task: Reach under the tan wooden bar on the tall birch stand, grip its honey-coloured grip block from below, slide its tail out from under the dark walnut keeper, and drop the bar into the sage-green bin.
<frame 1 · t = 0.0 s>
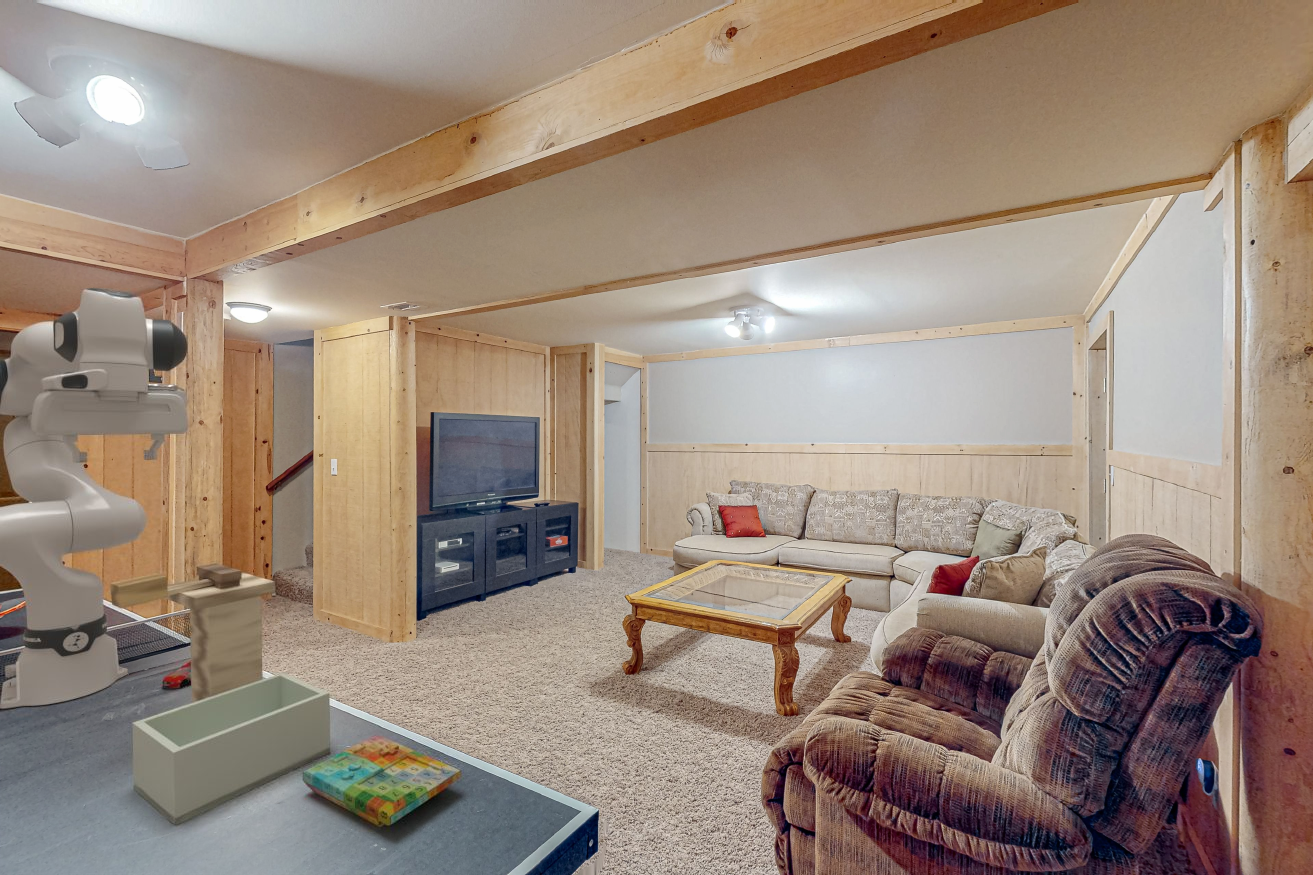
hand: (116, 461, 103), 48 cm above the table, tool pointing down, fingers open, 8 cm apart
race car: (198, 679, 127), on the table
tan wooden bar: (140, 600, 96), point 26 cm above the table, touching stand
stand: (221, 727, 106), on the table
bin: (237, 769, 93), on the table
puzzle game: (382, 797, 87), on the table
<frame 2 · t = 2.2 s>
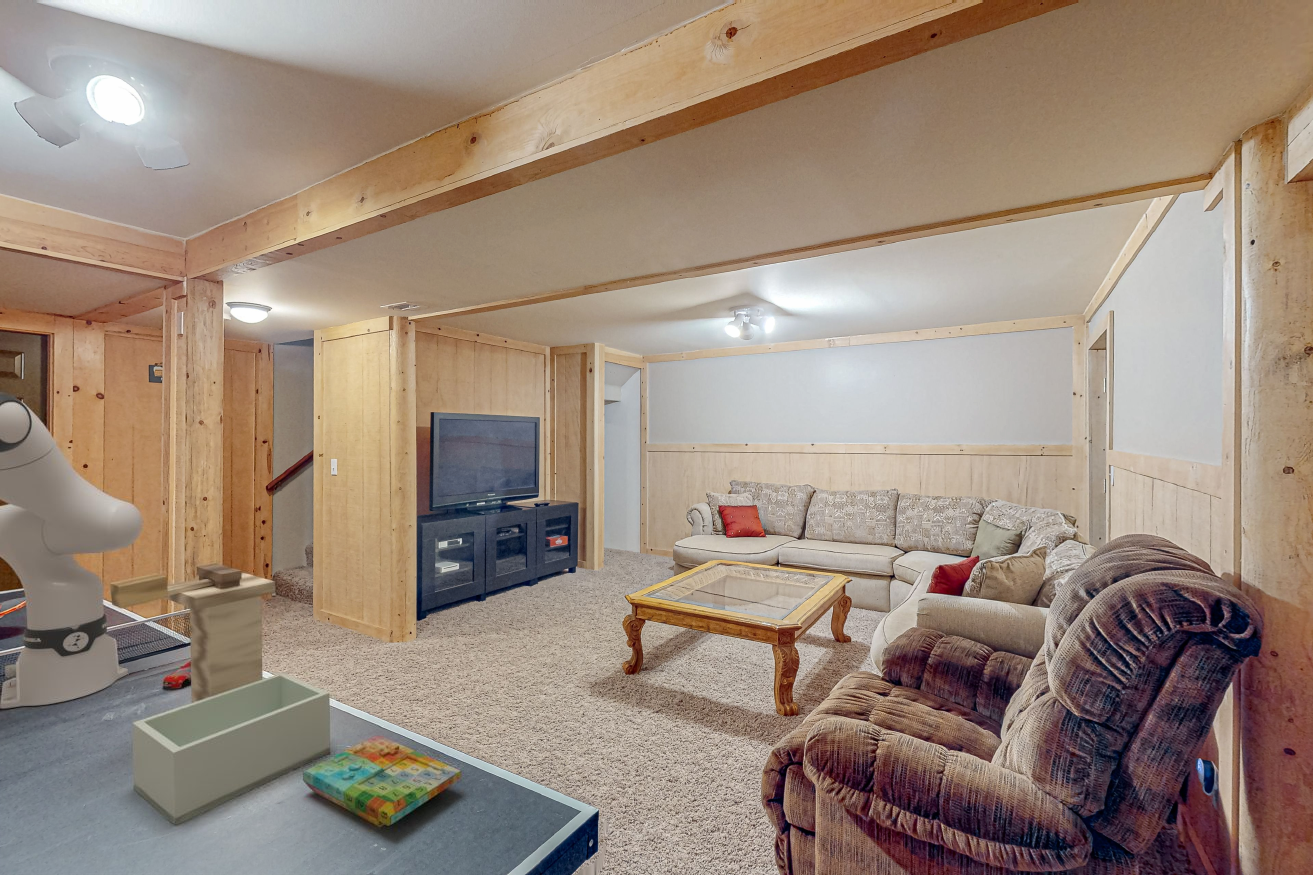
nothing on the table moved.
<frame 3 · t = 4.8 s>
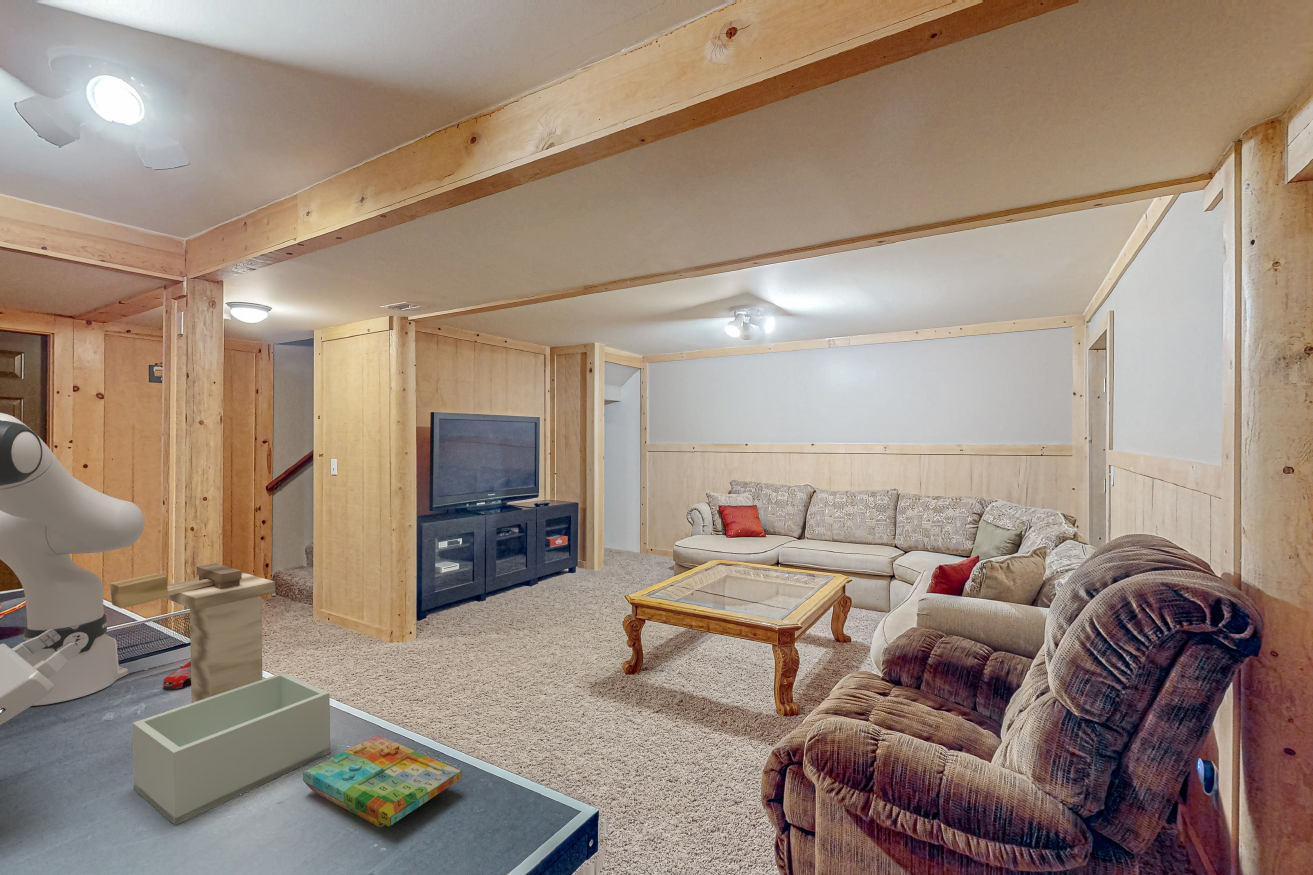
hand: (66, 638, 88), 22 cm above the table, tool pointing upward, fingers open, 8 cm apart
nothing on the table moved.
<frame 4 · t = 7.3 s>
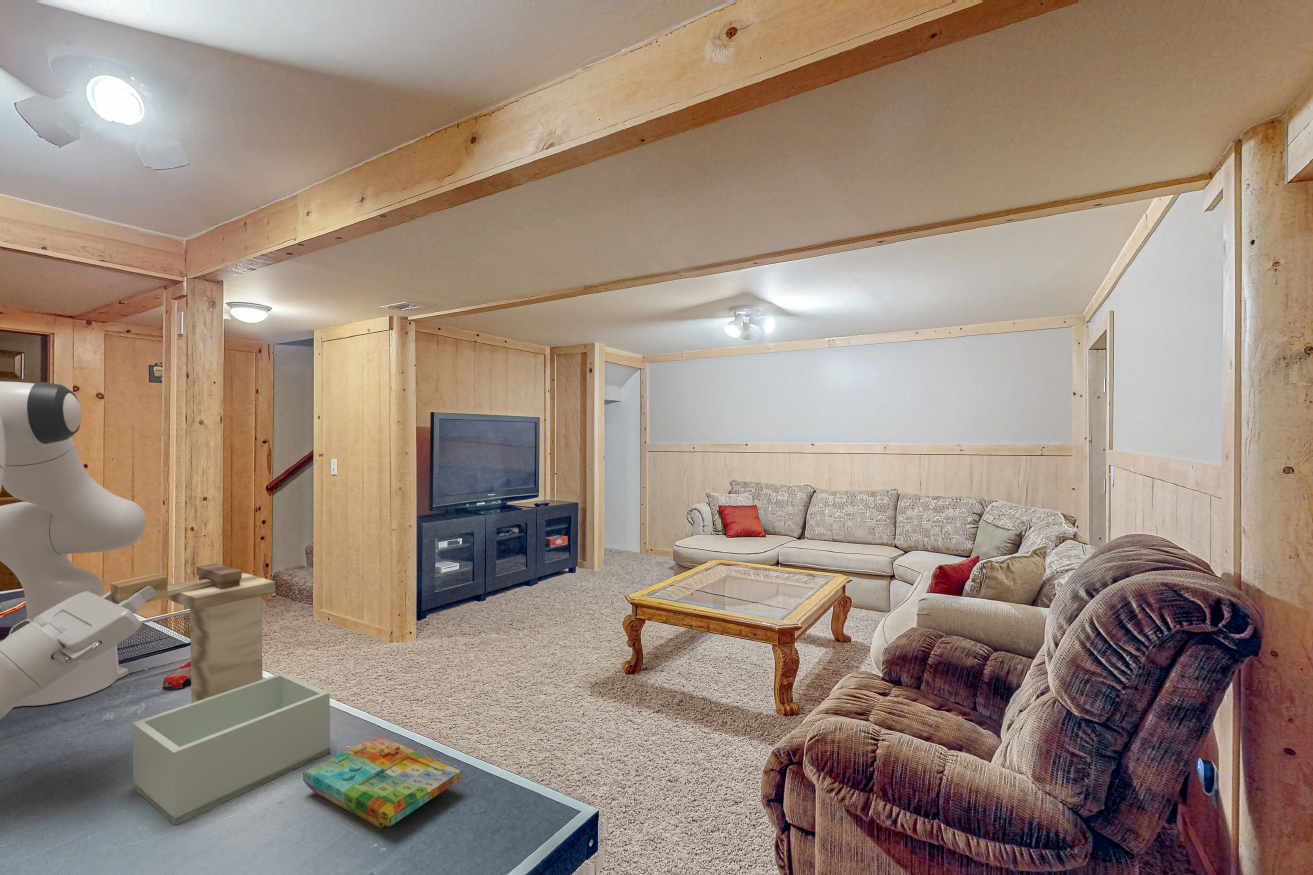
hand: (146, 586, 96), 28 cm above the table, tool pointing upward, fingers closed on tan wooden bar, 4 cm apart
tan wooden bar: (140, 600, 96), point 26 cm above the table, touching gripper, stand
everything else where it was.
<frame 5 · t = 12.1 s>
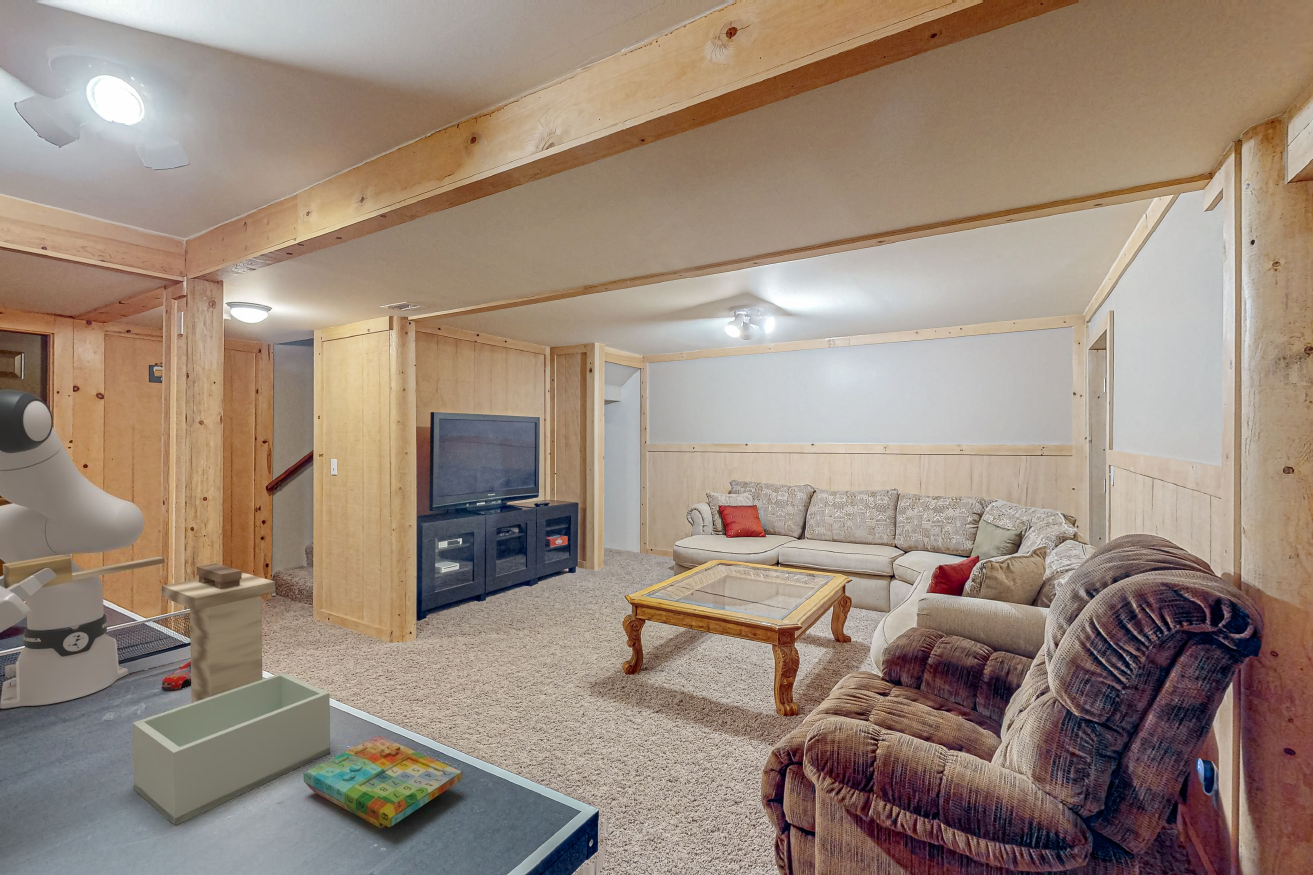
hand: (46, 568, 84), 34 cm above the table, tool pointing upward, fingers closed on tan wooden bar, 4 cm apart
tan wooden bar: (39, 585, 83), point 32 cm above the table, touching gripper
everything else where it was.
when the fingers open (19 cm above the table, at t = 16.7 s): tan wooden bar drops 16 cm, resting on bin.
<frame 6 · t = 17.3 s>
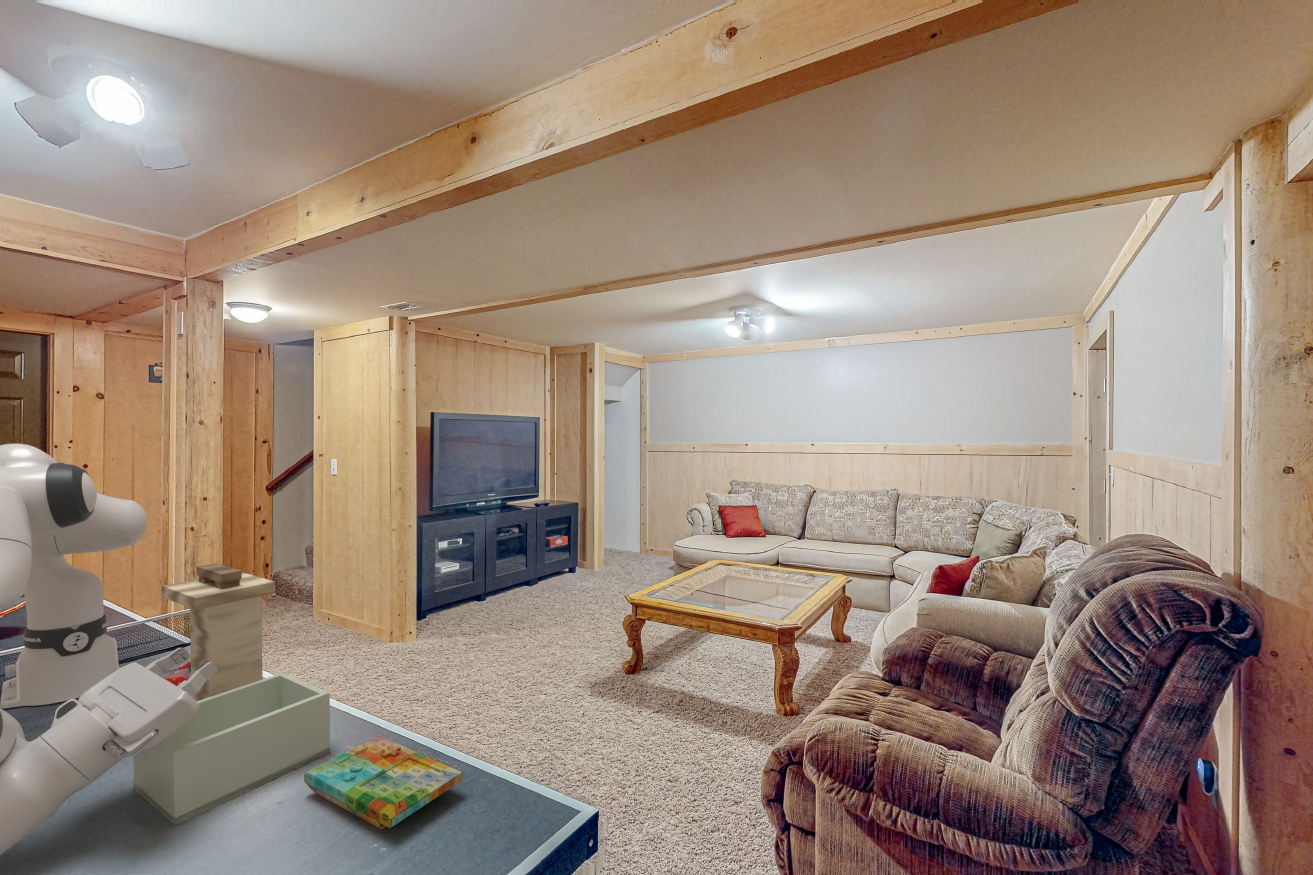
hand: (199, 657, 88), 19 cm above the table, tool pointing upward, fingers open, 8 cm apart
tan wooden bar: (195, 781, 88), point 1 cm above the table, touching bin
everything else where it was.
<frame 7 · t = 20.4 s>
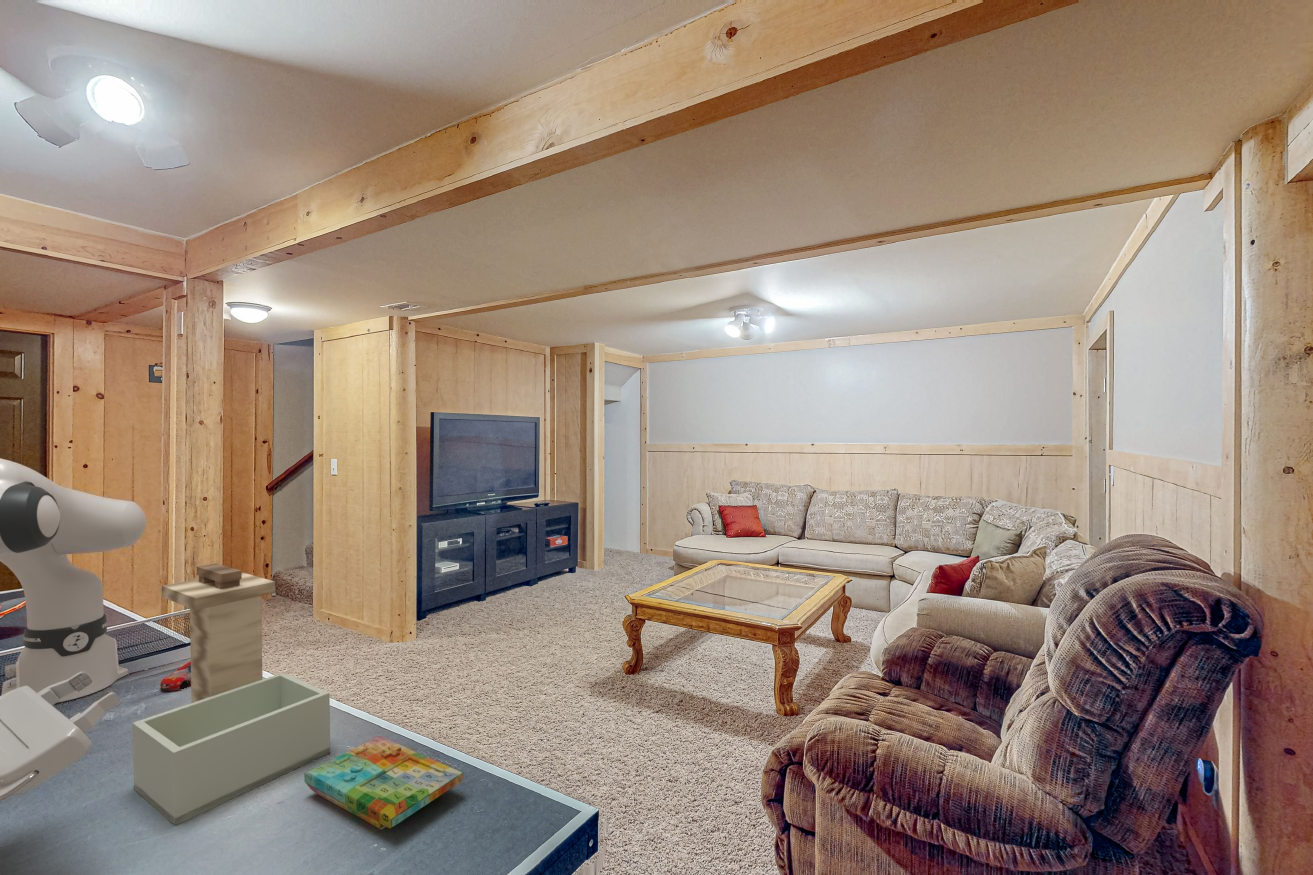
hand: (101, 685, 79), 19 cm above the table, tool pointing upward, fingers open, 8 cm apart
nothing on the table moved.
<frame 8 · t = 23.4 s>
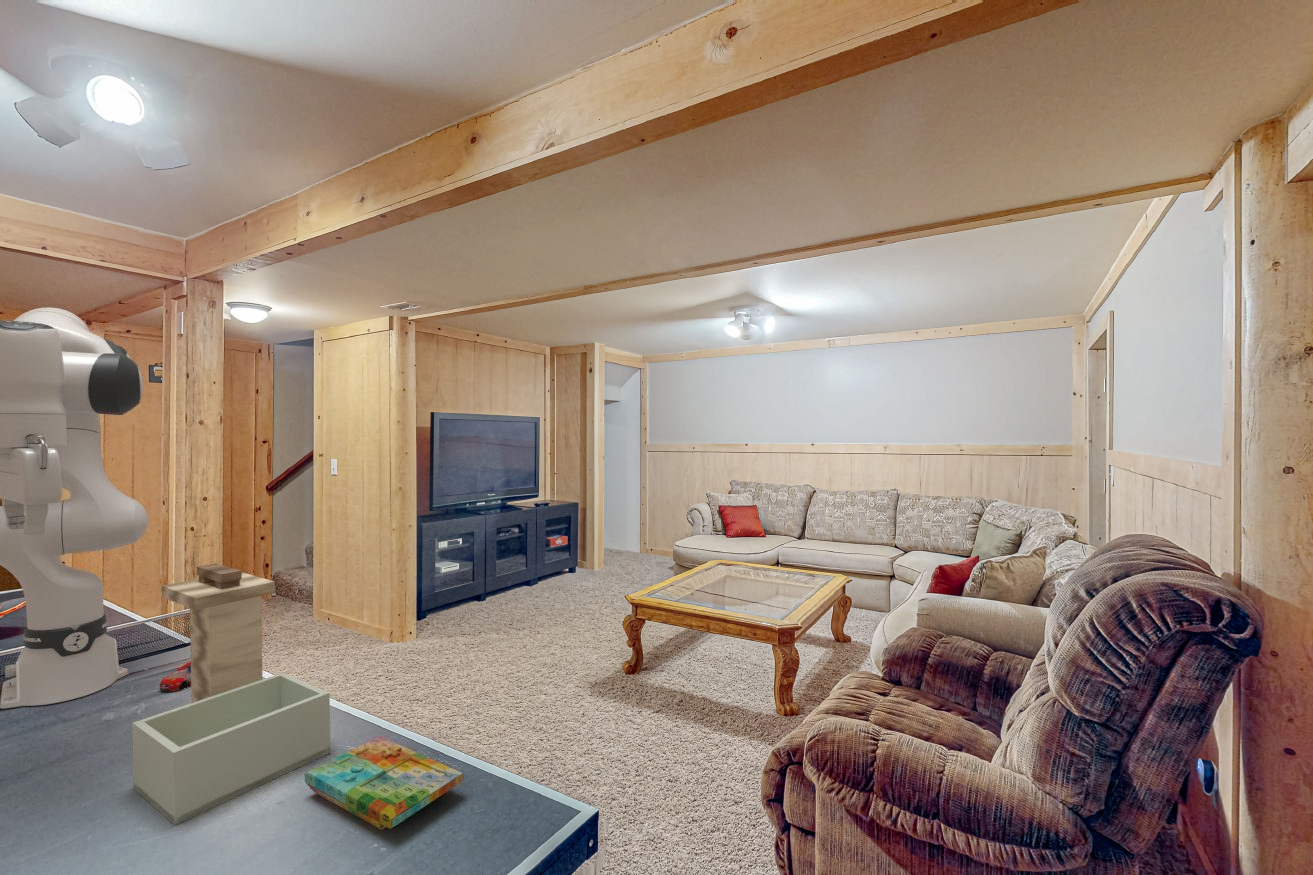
hand: (25, 531, 84), 39 cm above the table, tool pointing down, fingers open, 8 cm apart
at the end: tan wooden bar inside the target area on the bin (5.5 cm from its centre), point 1.0 cm above the bin's base; tan wooden bar point 1.0 cm above the table; the gripper is holding nothing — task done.
